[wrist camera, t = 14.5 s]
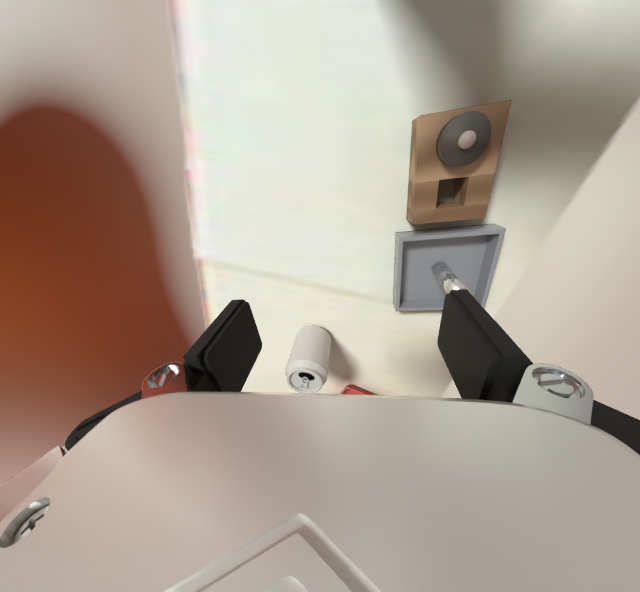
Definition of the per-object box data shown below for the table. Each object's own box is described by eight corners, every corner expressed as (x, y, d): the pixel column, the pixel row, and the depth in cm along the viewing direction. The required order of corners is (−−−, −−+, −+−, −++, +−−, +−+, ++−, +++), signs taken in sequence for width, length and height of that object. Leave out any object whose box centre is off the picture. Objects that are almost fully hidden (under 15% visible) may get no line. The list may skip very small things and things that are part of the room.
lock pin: (432, 262, 37) (455, 293, 29) (448, 260, 37) (476, 291, 28) (430, 275, 39) (452, 308, 30) (446, 274, 38) (472, 307, 30)
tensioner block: (412, 120, 29) (425, 111, 24) (491, 107, 27) (524, 95, 22) (406, 218, 35) (416, 228, 30) (471, 212, 33) (493, 221, 28)
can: (336, 329, 47) (332, 376, 37) (325, 353, 51) (318, 401, 41) (302, 318, 47) (288, 362, 37) (293, 343, 51) (278, 389, 41)
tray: (395, 232, 36) (399, 237, 33) (494, 223, 34) (506, 228, 31) (392, 302, 42) (395, 311, 40) (475, 298, 40) (484, 308, 38)
